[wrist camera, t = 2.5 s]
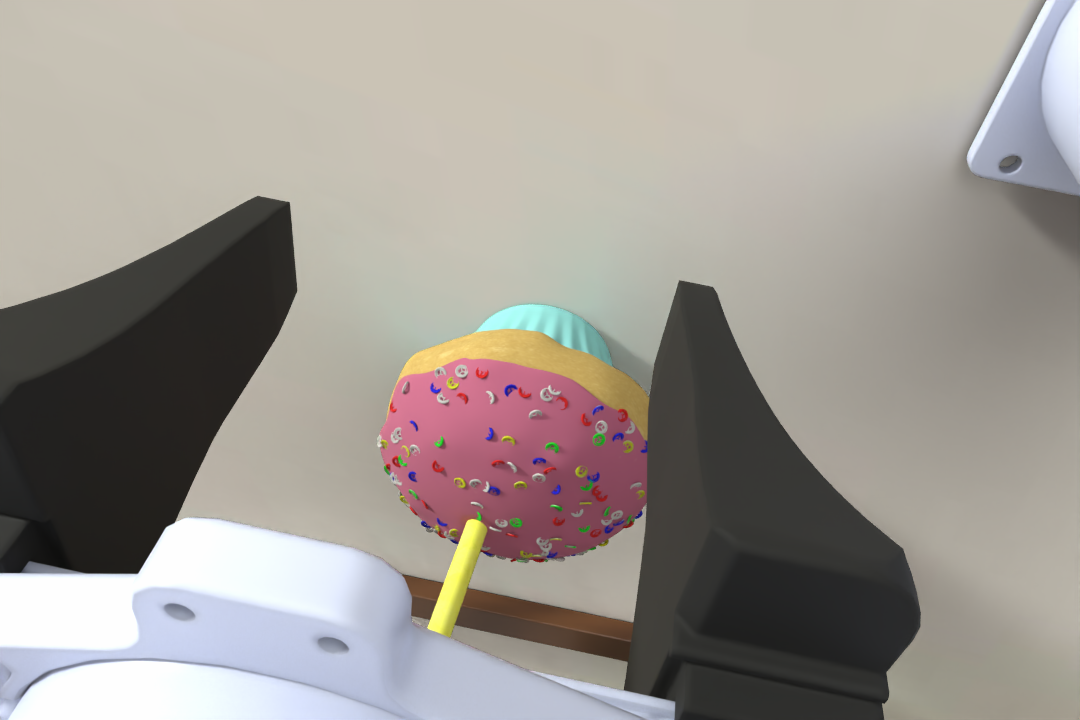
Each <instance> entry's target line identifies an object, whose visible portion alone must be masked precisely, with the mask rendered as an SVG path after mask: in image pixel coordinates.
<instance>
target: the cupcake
mask: <svg viewBox="0 0 1080 720" xmlns="http://www.w3.org/2000/svg"><path fill="white" fill-rule="evenodd" d="M648 406H649V397H648V396H647V394H646V392H645V391H644V390H643V389H642V388H641V387H640V386H639V385H638V384H637V383H636V382H635V381H634V380H633V379H632V378H631V377H629V376H628V375H627V374H625V373H623V372H622V371H620V370H617V369H615V368H613V365H612V361H611V357H610V353H609V350H608V348H607V346H606V344H605V342H604V340H603V338H602V337H601V336H600V334H599V333H598V332H597V331H596V330H595V329H594V328H593V327H592V326H591V325H590V324H589V323H587V322H586V321H585V320H583V319H582V318H580V317H578V316H577V315H575V314H573V313H571V312H568V311H566V310H563V309H560V308H557V307H553V306H547V305H539V304H527V305H519V306H514V307H510V308H507V309H504V310H502V311H500V312H498V313H496V314H494V315H493V316H491V317H490V318H489V319H488V320H486V321H485V322H484V323H483V324H482V325H481V327H480V328H479V329H478V330H477V331H476V332H475V333H472V334H469V335H466V336H463V337H460V338H457V339H453V340H450V341H447V342H445V343H442V344H439V345H436V346H433V347H430V348H427V349H425V350H422V351H420V352H418V353H416V354H414V355H413V356H412V357H411V358H410V359H409V360H408V361H407V363H406V364H405V366H404V367H403V369H402V372H401V374H400V376H399V378H398V381H397V383H396V386H395V388H394V390H393V393H392V396H391V399H390V403H389V407H388V412H387V418H386V423H385V424H384V426H383V427H382V429H381V432H380V436H378V438H377V446H378V447H380V449H381V453H382V457H383V460H384V463H385V466H384V469H385V471H386V473H387V474H388V475H390V481H391V482H392V483H393V484H394V485H396V486H397V487H398V489H399V498H400V500H401V501H402V502H403V503H404V504H405V505H406V506H407V507H409V508H410V509H411V511H412V512H413V513H414V514H415V515H418V516H419V517H420V519H421V520H422V522H421V525H422V526H424V527H426V531H427V532H433V531H434V532H435V533H437V534H438V535H439V536H440V537H442V538H448V539H450V541H452V542H453V543H455V544H458V547H457V550H456V552H455V555H454V558H453V560H452V563H451V566H450V569H449V571H448V574H447V577H446V579H445V582H444V585H443V587H442V590H441V593H440V596H439V598H438V601H437V604H436V606H435V609H434V612H433V615H432V617H431V620H430V623H429V625H428V629H430V630H433V631H435V632H437V633H440V634H442V635H445V636H447V637H449V638H450V637H451V634H452V631H453V628H454V625H455V622H456V619H457V616H458V614H459V611H460V608H461V605H462V602H463V599H464V596H465V594H466V591H467V588H468V585H469V582H470V579H471V576H472V573H473V571H474V568H475V565H476V562H477V559H478V556H479V553H480V552H483V553H484V554H486V555H487V556H489V557H494V556H495V555H496V556H497V557H498V558H500V559H506V558H511V559H513V560H511V562H513V561H516V560H517V561H518V562H525V563H527V562H529V560H534V561H536V562H544V561H546V562H547V561H548V560H557V561H564V560H565V558H564V557H565V556H570V555H571V556H575V555H583V554H584V553H587V552H588V550H594V549H596V547H595V546H597V545H599V546H605V545H607V544H608V539H609V538H611V537H612V536H614V535H615V534H617V533H618V532H620V531H621V530H622V529H623V528H628V527H631V526H632V525H633V522H634V521H635V519H637V518H639V517H641V516H642V511H641V510H642V509H643V507H644V506H645V504H646V503H647V434H648ZM379 441H380V442H379ZM403 499H404V500H403ZM639 513H640V514H639ZM637 515H638V516H637ZM424 523H425V524H426V525H425V524H424ZM428 528H429V529H430V528H432V529H431V530H429V529H428ZM602 542H605V543H604V544H601V543H602ZM500 556H501V557H500ZM557 558H558V559H557ZM547 559H548V560H547Z"/></svg>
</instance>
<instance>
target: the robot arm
mask: <svg viewBox="0 0 1080 720" xmlns="http://www.w3.org/2000/svg"><path fill="white" fill-rule="evenodd" d="M1009 156H1018V159H1017V160H1016V162H1015V163H1014V164H1012V165H1010V166H1008V167H1001V166H1000V163H1001V162H1002V161H1003V159H1004V158H1007V157H1009ZM967 163H968V166H969V168H970V170H971V171H972V172H973V174H974V175H976V176H979V177H981V178H986V179H991V180H997V181H1002V182H1007V183H1012V184H1018V185H1023V186H1028V187H1033V188H1039V189H1044V190H1049V191H1055V192H1060V193H1065V194H1070V195H1076V196H1080V0H1046V2H1045V4H1044V6H1043V8H1042V10H1041V12H1040V14H1039V16H1038V17H1037V19H1036V21H1035V23H1034V25H1033V27H1032V29H1031V31H1030V33H1029V35H1028V37H1027V39H1026V41H1025V43H1024V45H1023V47H1022V48H1021V50H1020V52H1019V54H1018V56H1017V58H1016V60H1015V62H1014V64H1013V66H1012V68H1011V70H1010V72H1009V74H1008V76H1007V78H1006V79H1005V81H1004V83H1003V85H1002V87H1001V89H1000V91H999V93H998V95H997V97H996V99H995V101H994V103H993V105H992V107H991V109H990V110H989V112H988V114H987V116H986V118H985V120H984V122H983V124H982V126H981V128H980V130H979V132H978V134H977V136H976V138H975V140H974V141H973V143H972V145H971V147H970V149H969V151H968V155H967ZM296 293H297V282H296V270H295V259H294V247H293V235H292V223H291V212H290V202H285V201H280V200H275V199H270V198H265V197H260V196H257V197H254V198H252V199H250V200H248V201H246V202H245V203H243V204H241V205H239V206H237V207H235V208H234V209H232V210H230V211H228V212H226V213H225V214H223V215H221V216H219V217H218V218H216V219H214V220H212V221H211V222H209V223H207V224H205V225H204V226H202V227H200V228H198V229H196V230H195V231H193V232H191V233H189V234H187V235H185V236H184V237H182V238H180V239H178V240H176V241H175V242H173V243H171V244H169V245H167V246H165V247H163V248H161V249H159V250H157V251H155V252H153V253H151V254H149V255H147V256H145V257H143V258H140V259H138V260H136V261H134V262H132V263H130V264H128V265H126V266H124V267H122V268H120V269H117V270H115V271H113V272H110V273H108V274H106V275H103V276H101V277H98V278H96V279H93V280H91V281H88V282H85V283H83V284H80V285H78V286H75V287H72V288H69V289H67V290H64V291H61V292H57V293H54V294H51V295H48V296H44V297H41V298H38V299H35V300H31V301H28V302H25V303H22V304H18V305H15V306H11V307H8V308H4V309H0V720H884V715H883V708H882V703H884V704H885V702H886V701H887V700H888V697H889V688H888V682H887V675H886V672H887V671H888V670H889V668H890V667H891V666H892V665H893V664H894V662H895V661H896V660H897V659H898V657H899V656H900V655H901V654H902V653H903V651H904V650H905V649H906V648H907V647H908V645H909V644H910V643H911V642H912V641H913V639H914V637H915V635H916V634H917V632H918V630H919V628H920V616H921V612H920V607H919V602H918V597H917V592H916V588H915V584H914V581H913V577H912V574H911V571H910V568H909V566H908V563H907V560H906V557H905V554H904V550H903V549H902V548H901V547H900V546H899V545H897V544H896V543H895V542H894V541H893V540H891V539H890V538H889V537H888V536H887V535H885V534H884V533H883V532H882V531H881V530H879V529H878V528H877V527H876V526H874V525H873V524H872V523H871V522H870V521H868V520H867V519H866V518H865V517H864V516H863V515H861V514H860V513H859V512H858V511H857V510H856V509H855V508H854V507H853V506H852V505H851V504H850V503H849V502H848V501H847V500H846V499H845V498H844V497H843V496H841V495H840V494H839V493H838V492H837V491H836V490H835V489H834V488H833V487H832V485H831V484H830V483H829V482H828V481H827V480H826V479H825V478H824V477H823V476H822V475H821V474H820V473H819V471H818V470H817V469H816V468H815V467H814V466H813V464H812V463H811V462H810V461H809V460H808V459H807V458H806V456H805V455H804V454H803V453H802V452H801V450H800V449H799V448H798V447H797V445H796V444H795V443H794V442H793V440H792V439H791V438H790V436H789V435H788V433H787V432H786V431H785V429H784V428H783V426H782V425H781V424H780V422H779V421H778V419H777V418H776V416H775V414H774V413H773V411H772V410H771V408H770V406H769V405H768V403H767V402H766V400H765V398H764V396H763V395H762V393H761V391H760V389H759V388H758V386H757V384H756V382H755V380H754V379H753V377H752V375H751V373H750V371H749V369H748V367H747V365H746V363H745V361H744V359H743V357H742V354H741V352H740V350H739V348H738V346H737V344H736V342H735V339H734V337H733V335H732V332H731V330H730V327H729V325H728V323H727V320H726V317H725V315H724V312H723V310H722V307H721V304H720V301H719V298H718V295H717V293H716V291H715V290H714V288H713V287H710V286H705V285H700V284H695V283H690V282H685V281H680V280H679V283H678V286H677V290H676V293H675V296H674V300H673V303H672V306H671V310H670V313H669V317H668V320H667V323H666V327H665V330H664V333H663V337H662V340H661V343H660V347H659V350H658V354H657V357H656V360H655V364H654V371H653V378H652V384H651V392H650V399H649V406H648V434H647V511H646V527H645V537H644V546H643V554H642V562H641V570H640V578H639V586H638V593H637V601H636V609H635V616H634V624H633V631H632V638H631V645H630V652H629V659H628V666H627V673H626V680H625V686H624V690H619V689H615V688H610V687H606V686H601V685H596V684H592V683H587V682H583V681H578V680H573V679H569V678H564V677H560V676H555V675H550V674H546V673H541V672H537V671H532V670H527V669H524V668H522V667H519V666H517V665H514V664H512V663H510V662H507V661H505V660H502V659H500V658H498V657H495V656H493V655H490V654H488V653H486V652H483V651H481V650H478V649H476V648H473V647H471V646H469V645H466V644H464V643H461V642H459V641H457V640H454V639H452V638H449V637H447V636H445V635H442V634H440V633H437V632H435V631H433V630H430V629H428V628H425V627H423V626H421V625H418V624H416V623H413V622H412V617H411V609H412V596H411V593H410V591H409V588H408V586H407V583H406V581H405V578H404V577H403V576H402V574H401V573H399V572H398V571H397V570H396V569H394V568H393V567H392V566H391V565H389V564H388V563H387V562H386V561H384V560H383V559H382V558H381V557H378V556H375V555H372V554H370V553H367V552H364V551H362V550H359V549H356V548H354V547H350V546H345V545H340V544H335V543H331V542H326V541H321V540H317V539H312V538H307V537H303V536H298V535H293V534H289V533H284V532H279V531H275V530H270V529H265V528H261V527H256V526H251V525H247V524H242V523H237V522H233V521H228V520H223V519H219V518H200V517H189V518H184V519H182V520H180V521H178V522H176V523H175V521H176V519H177V517H178V514H179V512H180V510H181V508H182V505H183V503H184V501H185V499H186V496H187V494H188V492H189V490H190V487H191V485H192V483H193V481H194V478H195V476H196V474H197V472H198V470H199V468H200V466H201V464H202V462H203V460H204V458H205V456H206V453H207V451H208V449H209V447H210V445H211V443H212V441H213V439H214V437H215V436H216V434H217V432H218V430H219V429H220V427H221V425H222V423H223V421H224V420H225V418H226V417H227V415H228V414H229V412H230V410H231V409H232V407H233V406H234V404H235V403H236V401H237V399H238V398H239V396H240V395H241V393H242V392H243V390H244V388H245V387H246V385H247V384H248V382H249V381H250V379H251V377H252V376H253V374H254V373H255V371H256V370H257V368H258V366H259V365H260V363H261V362H262V360H263V358H264V357H265V355H266V354H267V352H268V350H269V349H270V347H271V346H272V344H273V342H274V341H275V339H276V337H277V336H278V334H279V332H280V330H281V327H282V325H283V323H284V321H285V319H286V316H287V314H288V312H289V309H290V307H291V305H292V302H293V300H294V297H295V295H296Z"/></svg>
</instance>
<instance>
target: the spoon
mask: <svg viewBox="0 0 1080 720" xmlns="http://www.w3.org/2000/svg"><path fill="white" fill-rule="evenodd" d="M402 576H403V577H404V578H405V581H406V583H407V586H408V588H409V591H410V593H411V596H412V609H411V616H415V617H419V618H424V619H429V620H431V617H432V615H433V612H434V609H435V606H436V604H437V601H438V598H439V596H440V593H441V590H442V587H443V585H444V583H440V582H435V581H430V580H425V579H421V578H416V577H411V576H406V575H402ZM633 624H634V623H630V622H625V621H620V620H616V619H611V618H606V617H601V616H597V615H592V614H587V613H582V612H578V611H573V610H568V609H563V608H559V607H554V606H549V605H544V604H539V603H535V602H530V601H525V600H520V599H516V598H511V597H506V596H501V595H497V594H492V593H487V592H482V591H478V590H473V589H468V588H467V591H466V594H465V596H464V599H463V602H462V605H461V608H460V611H459V614H458V616H457V619H456V622H455V625H457V626H462V627H467V628H471V629H476V630H481V631H485V632H490V633H495V634H500V635H504V636H509V637H514V638H518V639H523V640H528V641H533V642H537V643H542V644H547V645H552V646H556V647H561V648H566V649H570V650H575V651H580V652H585V653H589V654H594V655H599V656H603V657H608V658H613V659H618V660H622V661H627V662H628V659H629V652H630V645H631V638H632V631H633Z"/></svg>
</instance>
